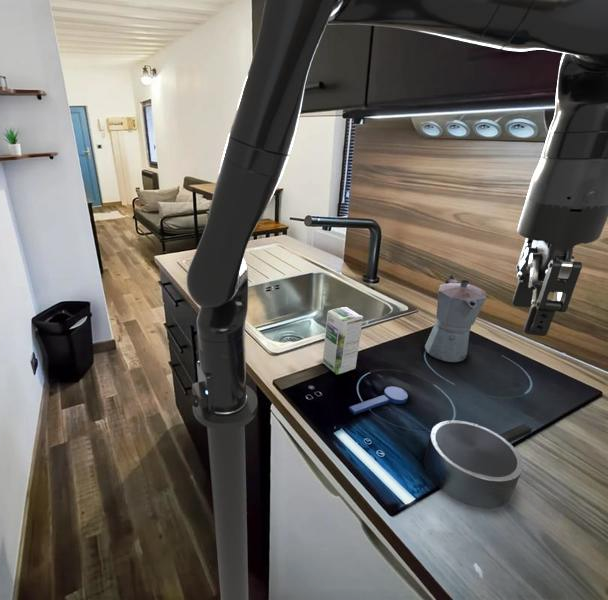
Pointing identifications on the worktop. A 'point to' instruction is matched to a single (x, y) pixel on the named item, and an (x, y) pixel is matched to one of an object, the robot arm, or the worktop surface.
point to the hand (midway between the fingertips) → (527, 319)
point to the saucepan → (474, 462)
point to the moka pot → (454, 319)
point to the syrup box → (342, 339)
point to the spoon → (381, 400)
